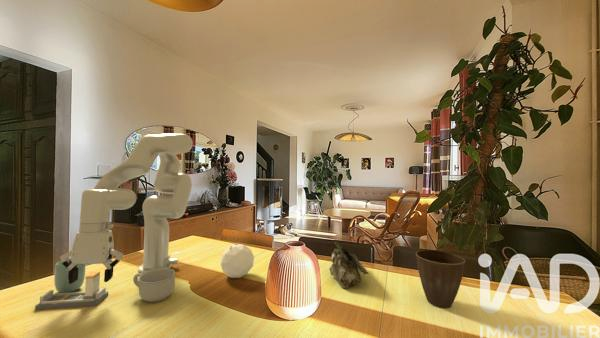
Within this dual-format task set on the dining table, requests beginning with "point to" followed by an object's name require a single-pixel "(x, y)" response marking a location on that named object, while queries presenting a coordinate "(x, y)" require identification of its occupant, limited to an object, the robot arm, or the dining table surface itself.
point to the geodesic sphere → (237, 260)
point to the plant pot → (440, 276)
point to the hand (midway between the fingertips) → (90, 281)
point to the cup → (62, 278)
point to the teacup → (155, 284)
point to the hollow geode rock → (345, 267)
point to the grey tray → (69, 300)
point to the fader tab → (92, 285)
